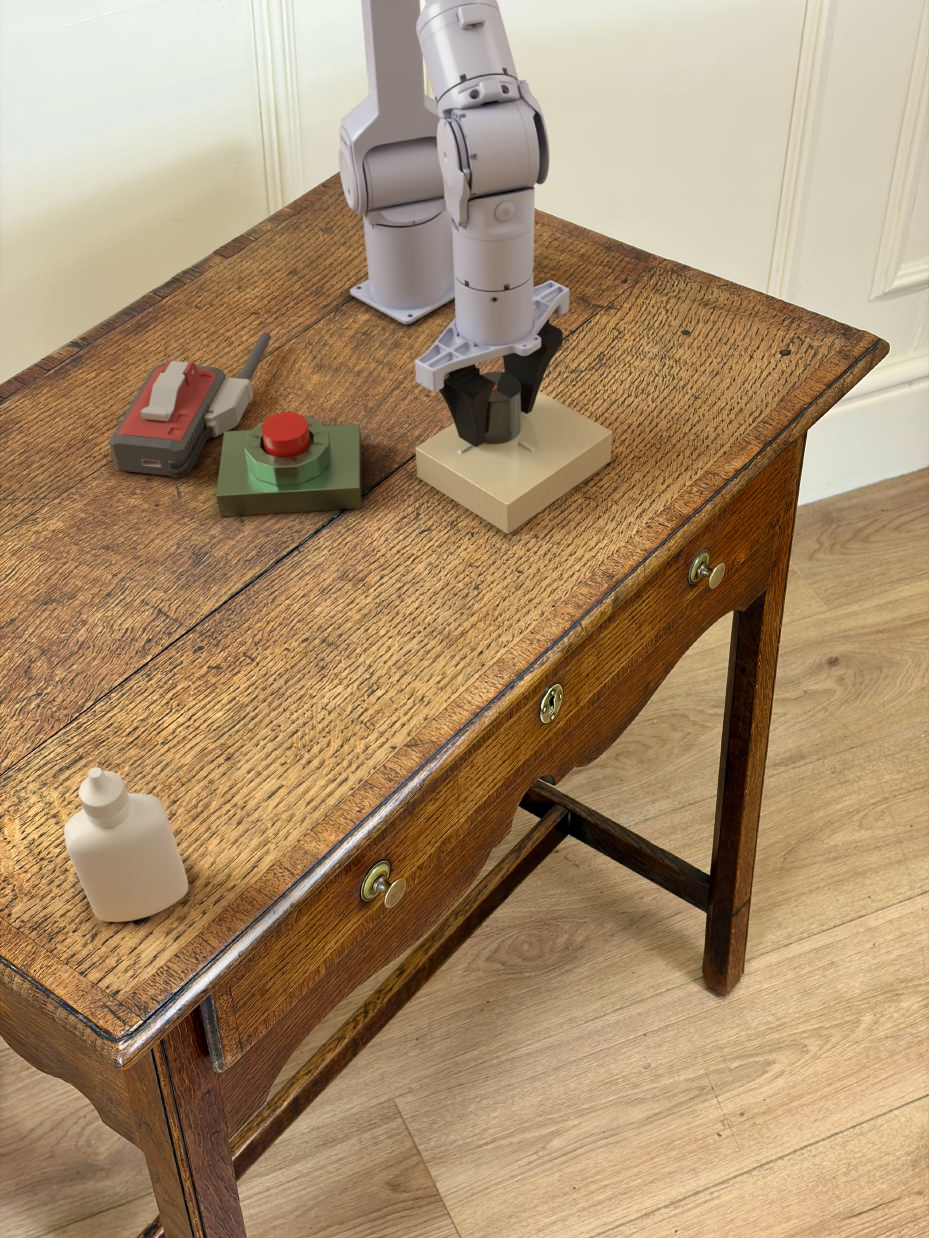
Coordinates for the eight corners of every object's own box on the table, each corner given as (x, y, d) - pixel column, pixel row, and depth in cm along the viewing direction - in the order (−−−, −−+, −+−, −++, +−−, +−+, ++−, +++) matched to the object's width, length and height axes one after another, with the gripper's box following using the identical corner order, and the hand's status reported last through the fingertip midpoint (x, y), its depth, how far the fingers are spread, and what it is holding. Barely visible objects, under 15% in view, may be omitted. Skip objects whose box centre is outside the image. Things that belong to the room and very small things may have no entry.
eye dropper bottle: (109, 858, 79) (60, 734, 71) (198, 869, 79) (158, 745, 70) (83, 921, 76) (28, 799, 68) (175, 933, 76) (132, 811, 67)
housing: (361, 444, 107) (357, 405, 104) (362, 508, 101) (357, 469, 98) (227, 452, 107) (219, 413, 104) (220, 517, 101) (212, 477, 98)
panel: (510, 404, 110) (510, 373, 108) (610, 461, 104) (613, 429, 102) (407, 471, 104) (405, 439, 102) (507, 534, 99) (507, 503, 96)
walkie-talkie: (209, 492, 103) (280, 348, 117) (199, 448, 100) (274, 306, 114) (105, 481, 104) (187, 340, 118) (92, 437, 101) (178, 298, 115)
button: (311, 428, 103) (308, 410, 101) (310, 457, 100) (307, 439, 99) (265, 431, 102) (262, 413, 101) (263, 460, 100) (260, 442, 99)
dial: (495, 406, 105) (494, 361, 102) (531, 427, 103) (532, 382, 100) (460, 429, 103) (458, 384, 100) (496, 450, 101) (495, 405, 98)
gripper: (461, 334, 87) (467, 489, 97) (602, 250, 94) (594, 403, 104) (390, 295, 91) (402, 449, 101) (531, 218, 98) (529, 368, 108)
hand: (495, 423), depth 103 cm, fingers open, 5 cm apart
